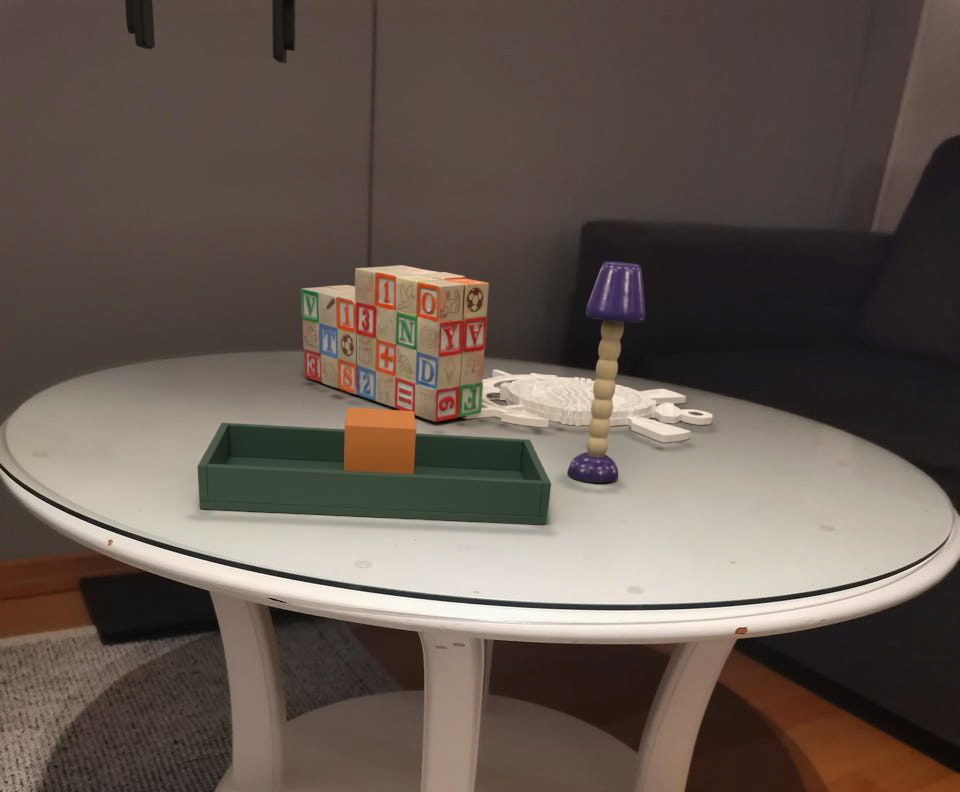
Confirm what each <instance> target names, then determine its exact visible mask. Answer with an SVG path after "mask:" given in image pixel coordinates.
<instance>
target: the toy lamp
mask: <svg viewBox="0 0 960 792" xmlns="http://www.w3.org/2000/svg"><path fill="white" fill-rule="evenodd" d="M644 290H645V289H644V281H643V272H642V267H641V266H640V265H639V264H637V263H636V264H635V263H630V262H621V261H605V262H602V265H601V266H600V269H599V272H598V273H597V277H596V280H595V281H594V286H593V287H592V290H591V293H590V296H589V298H588V301H587V304H586V306H585V315H586V317H588V318H591V319H595V320H601V321H602V322H601V325H600V335H601V340H600V342H599V345H598V351H597V352H598V357H599V358H598V360H597V362H596V366H595V375H596V378H595V380H594V381H595V382H594V386H593V394H594V397H595V398H594V399H593V401H592V404H591V414H592V418H591V420H590V423H589V425H588V432H589V436H588V438H587V441H586V451H587V452H583V453H580V454H578V455H576V456H575V457H574V458H573V459H572V460H571V461H570V463H569V466H568V468H567V475H568V476H569V477H570V478H572V479H573V480H578V481H581V482H585V483H586V482H587V483H593V484H594V483H595V484H607V483H612V482H615V481H617V480H618V479H619V467H618V466H617V464H616V462H615V461H614V460H613V458H612V457H610V456H609V455H607V454H606V453H607V452H608V448H609V440H608V436H609V434H610V431H611V426H610V419H609V418H610V416H611V414H612V411H613V402H612V397H613V395H614V393H615V385H616V382H615V378H616V377H617V375H618V371H619V363H618V359H619V357H620V355H621V351H622V343H621V339H622V337H623V335H624V329H625V324H624V323H642V322H644V321H645V319H646V302H645V291H644Z"/></svg>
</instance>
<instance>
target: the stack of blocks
mask: <svg viewBox="0 0 960 792" xmlns="http://www.w3.org/2000/svg"><path fill="white" fill-rule="evenodd" d="M489 287H490V284H489V282H487V281H480V280H477V279H476V280H475V279H472V278H471V279H470V278H466V276H465V275H461V274H456V273H450V272H446V271H434V270H430V269H429V270H428V269H422V268H419V267H413V266H408V265H404V264H403V265H400V264H399V265H385V266H373V267H356V268H355V269H354V285H349V284H342V285H326V286H325V285H324V286H318V287H317V286H316V287H305V288H300V314H301V319H302V340H303V341H302V343H303V344H302V347H303V365H304V367H303V368H304V377H305V378H307V379H310V380H312V381H315V382H319V383H322V384H324V385H326V386H329V387H332V388H335V389H339V390H341V391H344V392H346V393H349V394H353V395H355V396H356V395H357V396H358V397H359V396H360V397H363V398H365V399H368V400H371V401H374V402H377V403H380V404H383V405H385V406H388V407H392V408H395V409H396V410H401V411H414V416H417V417H419V418H422V419H425V420H428V421H430V422H434V423H437V422H442V421H448V420H452V419H458V418H461V417H462V416H467V415H472V414H477V413H481V405H482V391H483V382H482V380H483V379H484V364H485V349H486V344H487V343H486V342H487V328H488V327H487V325H488V305H489V304H488V303H489Z"/></svg>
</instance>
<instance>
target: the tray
mask: <svg viewBox="0 0 960 792" xmlns="http://www.w3.org/2000/svg"><path fill="white" fill-rule="evenodd" d="M344 439H345V428H329V427H328V428H326V427H310V426H309V427H308V426H307V427H306V426H293V425H291V426H289V425H274V424H273V425H271V424H255V423H253V424H251V423H237V422H236V423H235V422H230V423H229V422H221V423H220V425H219V427H218V429H217V430H216V433H214V436H213V438H212V440H211V441H210V443H209V445H208V447H207V448H206V450H205V452H204V454H203V456H202V457H201V459H200V460H199V463H198V464H197V484H198V500H199V502H198V503H199V509H200V510H217V511H235V512H236V511H237V512H256V513H257V512H259V513H278V514H279V513H280V514H281V513H282V514H300V515H301V514H303V515H322V516H323V515H324V516H326V515H327V516H347V517H367V518H368V517H370V518H390V519H391V518H392V519H411V520H413V519H415V520H433V521H435V520H436V521H454V522H455V521H457V522H477V523H478V522H479V523H481V522H482V523H503V524H525V525H547V523H548V515H549V506H550V499H551V490H552V482H551V480H550V478H549V475H548V474H547V472H546V470H545V468H544V466H543V464H542V462H541V460H540V458H539V455H538V453H537V451H536V450H535V447H534V445H533V443H532V441H531V440H530V439H525V438H524V439H522V438H509V437H507V438H506V437H492V436H491V437H489V436H488V437H487V436H473V435H471V436H470V435H453V434H451V435H450V434H436V433H433V434H432V433H417V432H416V440H415V459H414V474H402V473H382V472H362V471H344Z"/></svg>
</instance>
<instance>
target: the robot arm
mask: <svg viewBox="0 0 960 792" xmlns="http://www.w3.org/2000/svg"><path fill="white" fill-rule="evenodd" d="M124 3H125V18H126V19H125V20H126V28H127V32H128V33H129V34H132V35H134V41H135V45H136V47H139V48H141V49H144V50H153V49H154V48H155V44H156V43H155V26H154V25H155V23H154V7H153V5H154V4H153V0H124ZM271 4H272V6H271V7H272V9H271V11H272V58H273V59H274V60H275V61H276V62H277V63H279V64H280V63H281V64H287V62H288V61H287V60H288V56H287V55H288V53H287V51H291V52H295V51H296V0H272V3H271Z"/></svg>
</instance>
